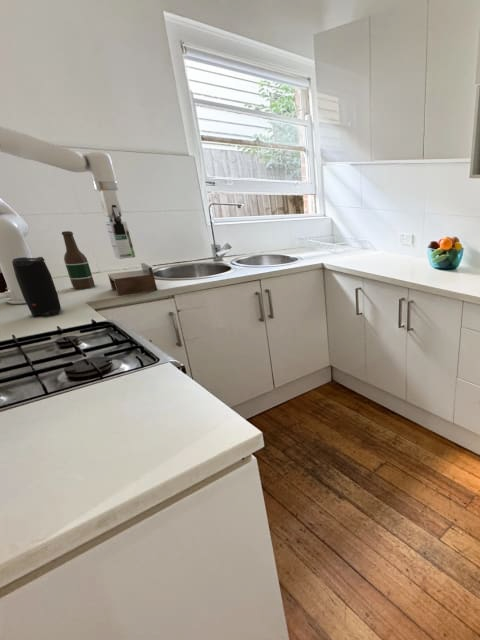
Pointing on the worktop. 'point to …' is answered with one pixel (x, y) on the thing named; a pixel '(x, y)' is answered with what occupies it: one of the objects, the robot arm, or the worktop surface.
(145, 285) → the brown wooden box
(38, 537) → the worktop surface
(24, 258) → the portable speaker
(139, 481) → the worktop surface
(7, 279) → the robot arm
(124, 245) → the syrup box
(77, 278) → the beer bottle
